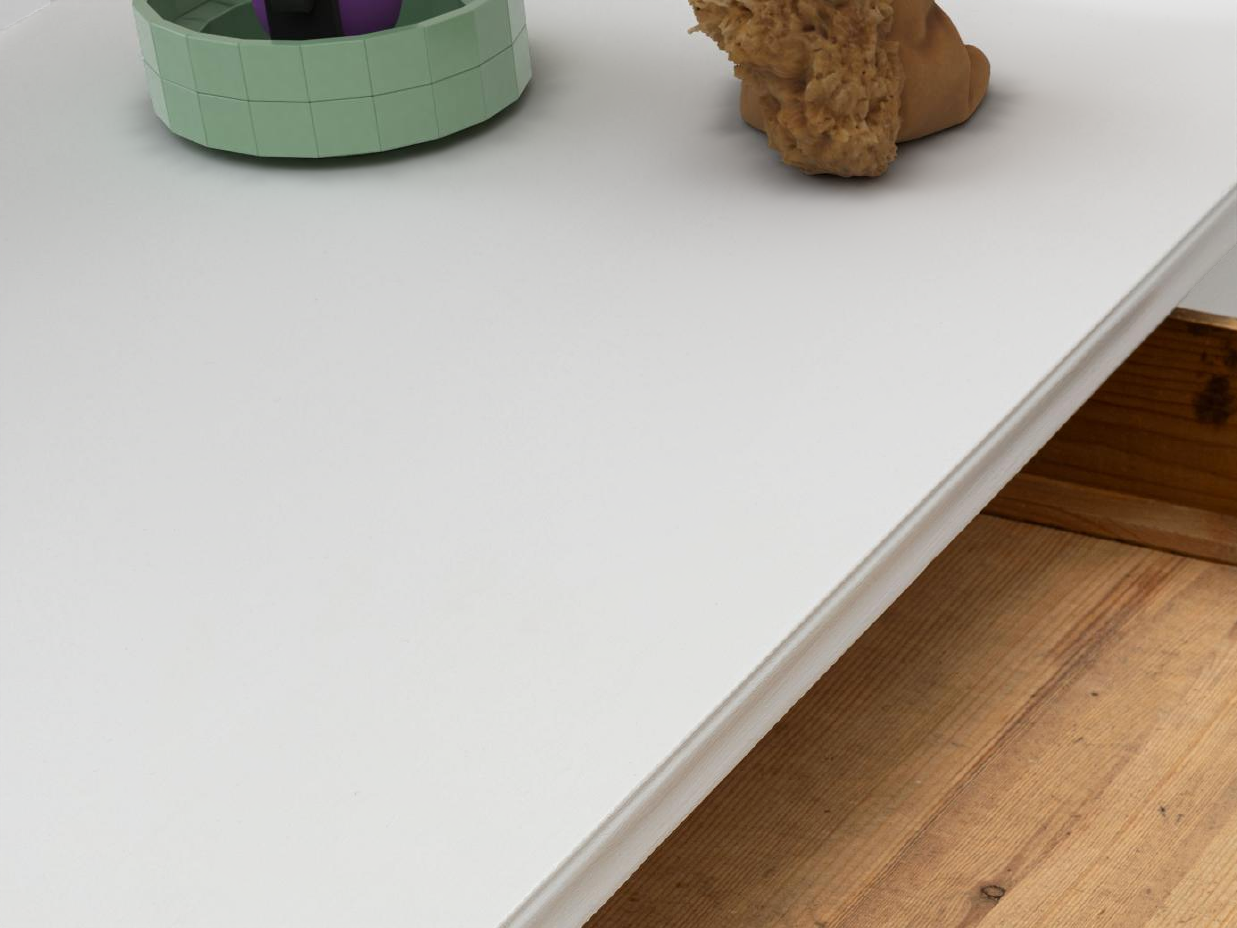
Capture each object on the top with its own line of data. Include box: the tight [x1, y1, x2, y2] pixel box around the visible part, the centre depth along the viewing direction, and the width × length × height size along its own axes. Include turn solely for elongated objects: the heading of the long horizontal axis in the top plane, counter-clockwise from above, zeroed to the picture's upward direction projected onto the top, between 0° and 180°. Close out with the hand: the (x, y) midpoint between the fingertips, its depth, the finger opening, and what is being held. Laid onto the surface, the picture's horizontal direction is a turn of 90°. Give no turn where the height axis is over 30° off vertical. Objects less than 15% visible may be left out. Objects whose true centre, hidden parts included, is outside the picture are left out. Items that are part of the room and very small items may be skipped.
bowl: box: [131, 0, 533, 159], centre depth 104 cm, size 15×15×5 cm
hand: (338, 53), depth 105 cm, fingers closed on ball, 6 cm apart
